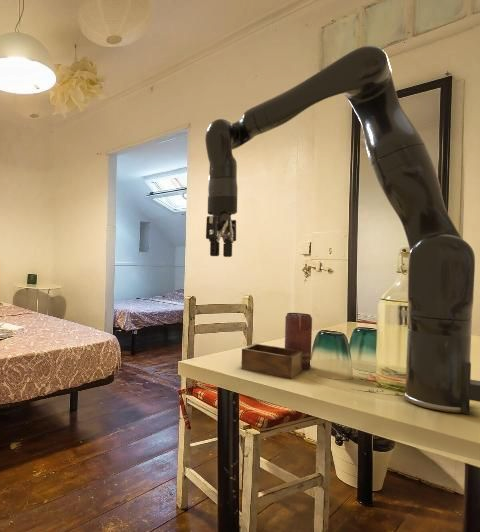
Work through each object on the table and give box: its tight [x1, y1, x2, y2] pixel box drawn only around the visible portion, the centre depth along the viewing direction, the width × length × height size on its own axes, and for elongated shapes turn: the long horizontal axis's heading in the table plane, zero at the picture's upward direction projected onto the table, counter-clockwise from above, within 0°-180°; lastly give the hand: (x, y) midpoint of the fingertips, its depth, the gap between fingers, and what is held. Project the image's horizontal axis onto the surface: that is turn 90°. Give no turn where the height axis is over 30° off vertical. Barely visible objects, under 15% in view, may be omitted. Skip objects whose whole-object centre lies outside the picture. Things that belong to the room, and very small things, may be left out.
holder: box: [240, 343, 303, 380], centre depth 100 cm, size 12×10×5 cm
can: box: [284, 312, 313, 371], centre depth 103 cm, size 6×6×14 cm
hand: (221, 256), depth 107 cm, fingers open, 8 cm apart
